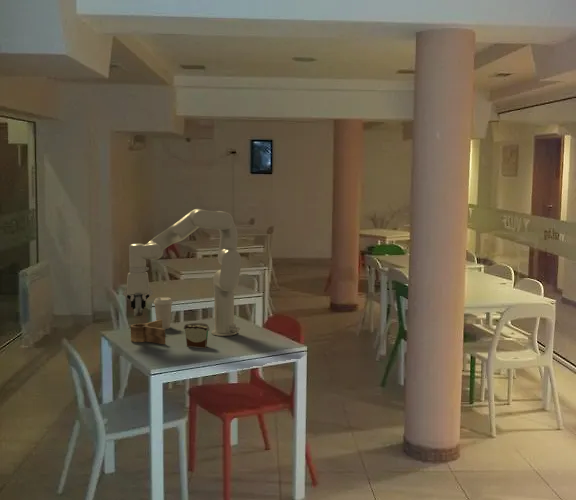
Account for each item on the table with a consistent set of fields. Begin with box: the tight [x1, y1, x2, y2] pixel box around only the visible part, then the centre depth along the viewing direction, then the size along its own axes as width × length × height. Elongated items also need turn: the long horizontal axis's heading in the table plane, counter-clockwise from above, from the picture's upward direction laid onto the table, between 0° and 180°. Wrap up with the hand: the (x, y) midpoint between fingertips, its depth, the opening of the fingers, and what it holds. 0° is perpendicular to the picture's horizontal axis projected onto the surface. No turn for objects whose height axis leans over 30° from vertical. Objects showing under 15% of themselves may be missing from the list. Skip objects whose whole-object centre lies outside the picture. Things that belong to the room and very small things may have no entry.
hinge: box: [130, 320, 166, 345], centre depth 342 cm, size 20×20×7 cm
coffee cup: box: [153, 296, 173, 330], centre depth 366 cm, size 10×10×15 cm
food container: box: [183, 322, 210, 349], centre depth 329 cm, size 12×6×10 cm, turn 71°
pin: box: [133, 293, 144, 317], centre depth 339 cm, size 5×5×11 cm
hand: (138, 308), depth 339 cm, fingers closed on pin, 4 cm apart
